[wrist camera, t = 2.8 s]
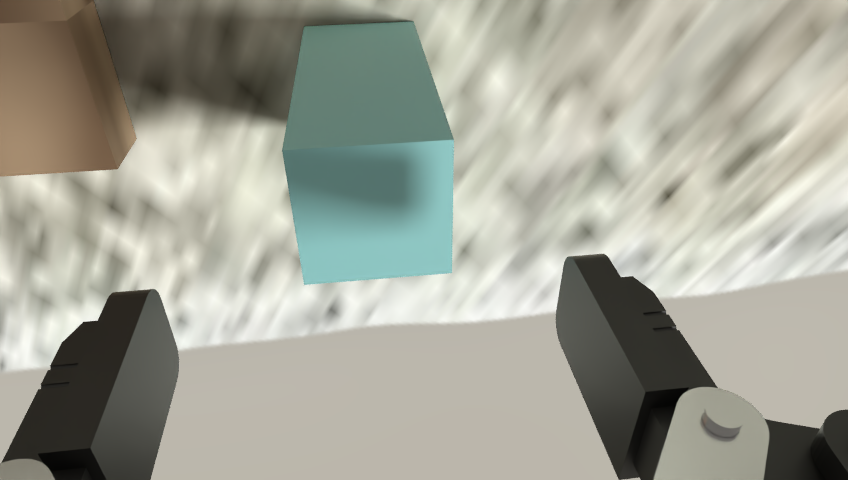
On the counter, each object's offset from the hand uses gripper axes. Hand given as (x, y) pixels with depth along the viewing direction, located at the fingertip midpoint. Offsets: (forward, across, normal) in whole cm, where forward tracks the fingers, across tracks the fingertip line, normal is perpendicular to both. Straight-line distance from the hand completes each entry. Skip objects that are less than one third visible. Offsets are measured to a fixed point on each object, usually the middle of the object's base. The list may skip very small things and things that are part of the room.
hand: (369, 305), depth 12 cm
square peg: (+14, 0, 0) cm, 14 cm away
